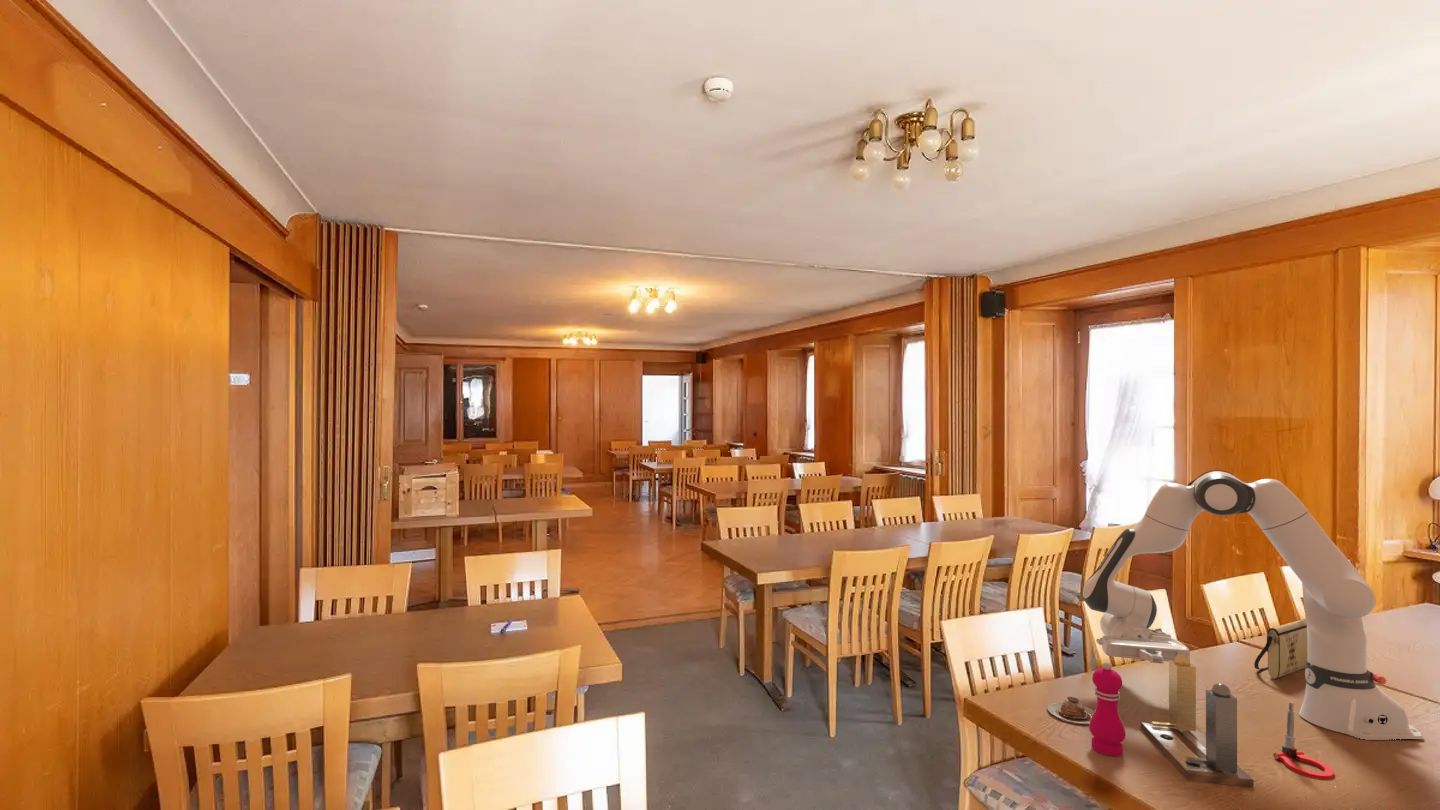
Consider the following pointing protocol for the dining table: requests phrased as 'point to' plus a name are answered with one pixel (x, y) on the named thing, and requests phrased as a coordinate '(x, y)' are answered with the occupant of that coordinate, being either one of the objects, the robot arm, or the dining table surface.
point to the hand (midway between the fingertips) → (1157, 660)
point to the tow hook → (1299, 753)
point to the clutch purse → (1285, 649)
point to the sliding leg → (1181, 695)
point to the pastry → (1071, 710)
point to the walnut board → (1217, 776)
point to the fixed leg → (1220, 730)
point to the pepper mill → (1107, 713)
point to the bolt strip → (1179, 747)
